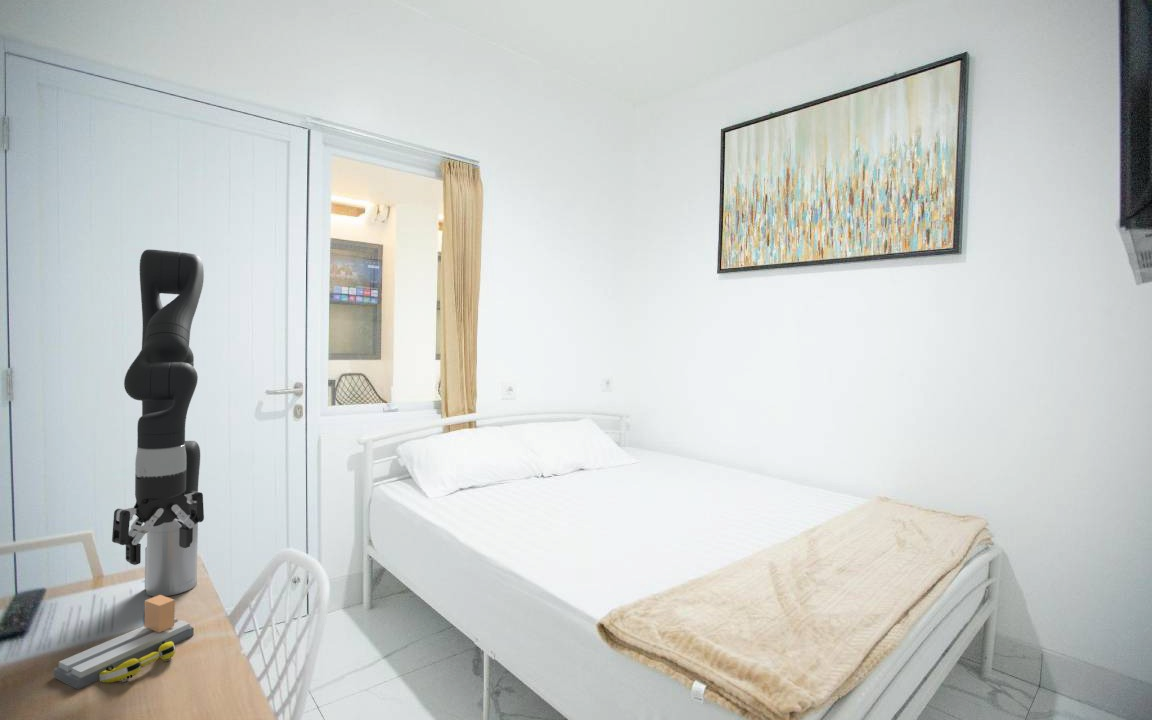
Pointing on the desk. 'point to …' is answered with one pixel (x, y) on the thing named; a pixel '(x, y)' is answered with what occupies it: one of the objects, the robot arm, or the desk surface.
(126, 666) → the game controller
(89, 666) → the fader track
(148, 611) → the cap
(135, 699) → the desk surface
